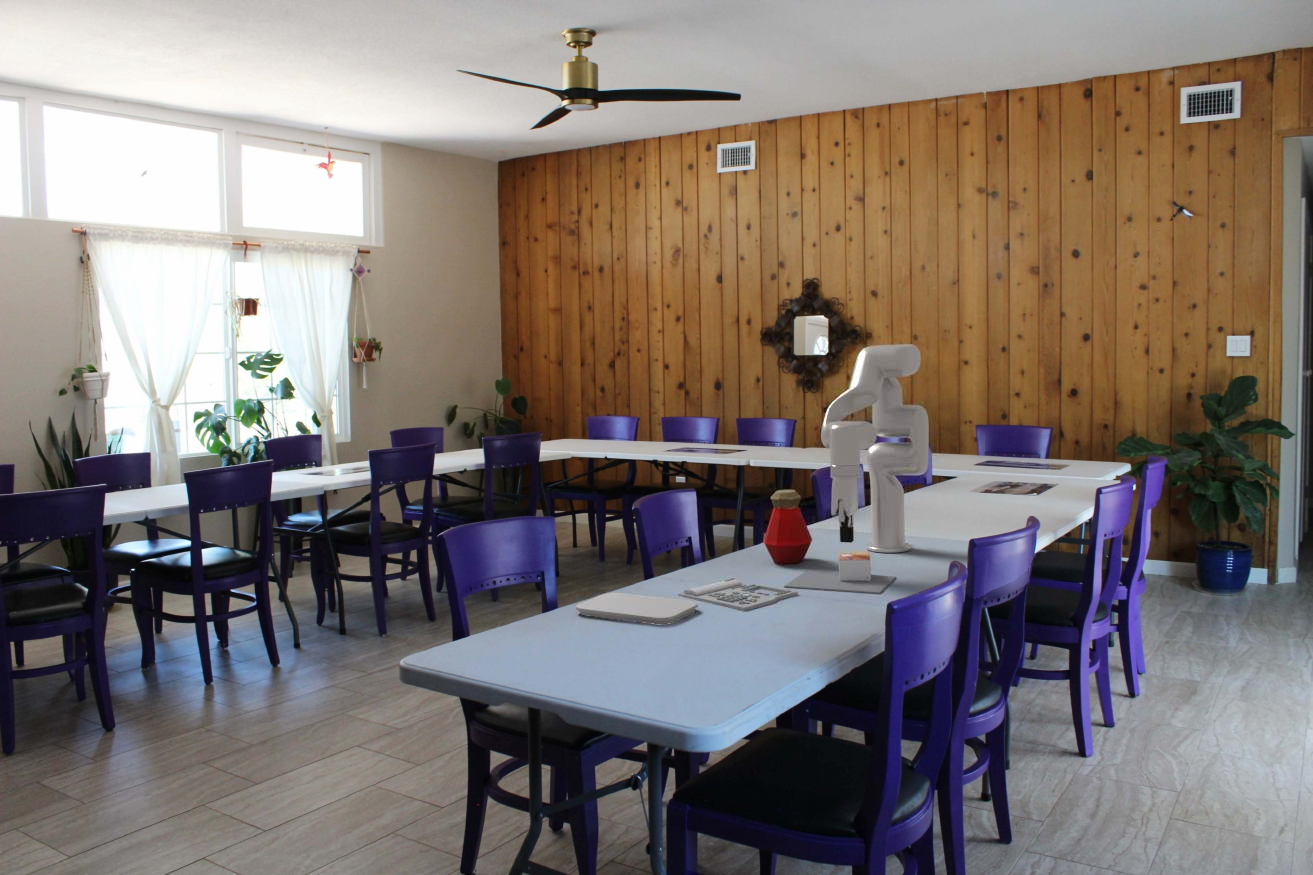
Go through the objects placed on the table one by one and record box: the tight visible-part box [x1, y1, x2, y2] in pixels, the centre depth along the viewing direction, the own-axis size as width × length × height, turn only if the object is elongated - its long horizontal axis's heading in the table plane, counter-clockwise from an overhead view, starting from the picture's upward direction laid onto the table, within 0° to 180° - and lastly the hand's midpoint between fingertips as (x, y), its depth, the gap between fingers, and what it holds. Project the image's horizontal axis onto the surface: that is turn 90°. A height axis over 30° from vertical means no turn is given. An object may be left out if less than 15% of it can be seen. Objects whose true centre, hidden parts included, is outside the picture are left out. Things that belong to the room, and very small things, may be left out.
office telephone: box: [677, 578, 799, 612], centre depth 239 cm, size 23×3×20 cm
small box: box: [838, 551, 872, 581], centre depth 253 cm, size 8×6×10 cm
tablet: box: [575, 592, 699, 625], centre depth 227 cm, size 16×26×2 cm, turn 59°
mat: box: [783, 570, 897, 595], centre depth 249 cm, size 18×24×1 cm
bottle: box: [762, 489, 813, 566], centre depth 277 cm, size 16×14×20 cm
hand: (846, 541), depth 254 cm, fingers closed
